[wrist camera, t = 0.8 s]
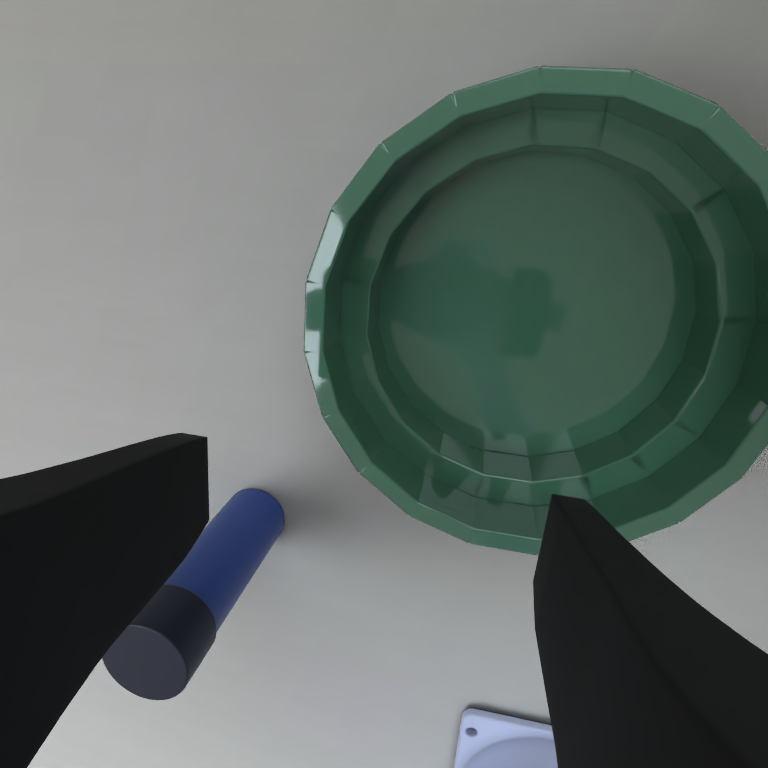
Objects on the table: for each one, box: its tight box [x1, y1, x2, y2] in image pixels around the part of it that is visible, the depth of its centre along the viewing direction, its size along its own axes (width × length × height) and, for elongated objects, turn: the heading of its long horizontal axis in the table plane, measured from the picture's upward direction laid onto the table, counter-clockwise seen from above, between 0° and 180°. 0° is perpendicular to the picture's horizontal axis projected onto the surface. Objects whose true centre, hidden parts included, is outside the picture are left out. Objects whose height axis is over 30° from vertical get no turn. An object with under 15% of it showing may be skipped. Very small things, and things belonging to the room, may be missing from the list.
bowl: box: [304, 66, 768, 555], centre depth 16 cm, size 13×13×4 cm
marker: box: [102, 489, 284, 700], centre depth 19 cm, size 3×3×8 cm
